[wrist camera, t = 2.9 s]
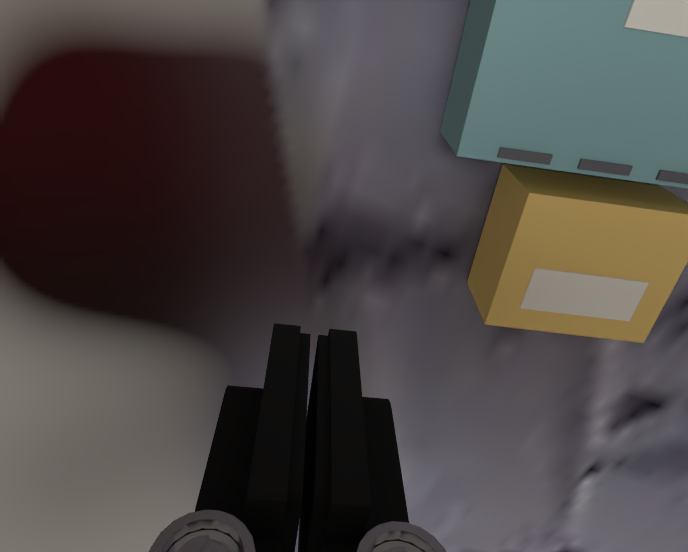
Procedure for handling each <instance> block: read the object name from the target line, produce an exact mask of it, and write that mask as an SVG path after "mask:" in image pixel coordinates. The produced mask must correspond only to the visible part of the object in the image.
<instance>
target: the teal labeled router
mask: <svg viewBox="0 0 688 552" xmlns="http://www.w3.org/2000/svg"><path fill="white" fill-rule="evenodd" d="M440 133H441V134H442V135H443V137H444V138H445V140H446V141H447V143H448V144H449V146H450V147H451V149H452V150H453V152H454V153H455V154H456V156H459V157H466V158H473V159H480V160H487V161H494V162H502V163H509V164H516V165H523V166H530V167H537V168H544V169H551V170H559V171H566V172H573V173H580V174H587V175H594V176H601V177H608V178H616V179H623V180H630V181H637V182H644V183H651V184H658V185H665V186H673V187H680V188H687V189H688V0H470V4H469V9H468V13H467V17H466V21H465V26H464V30H463V34H462V39H461V43H460V47H459V52H458V56H457V60H456V65H455V69H454V73H453V78H452V82H451V86H450V91H449V95H448V99H447V104H446V108H445V112H444V116H443V121H442V125H441V129H440Z"/></svg>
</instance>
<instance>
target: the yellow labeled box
mask: <svg viewBox="0 0 688 552" xmlns="http://www.w3.org/2000/svg"><path fill="white" fill-rule="evenodd" d="M687 262H688V203H687V202H685V201H683V200H682V199H680V198H679V197H677V196H675V195H674V194H672V193H670V192H669V191H667V190H666V189H664V188H662V187H661V186H657V185H649V184H642V183H635V182H628V181H621V180H614V179H607V178H599V177H592V176H585V175H578V174H571V173H564V172H557V171H550V170H542V169H535V168H528V167H521V166H514V165H507V164H502V168H501V171H500V174H499V178H498V181H497V184H496V188H495V191H494V194H493V198H492V201H491V204H490V207H489V211H488V214H487V217H486V221H485V224H484V227H483V231H482V234H481V237H480V241H479V244H478V247H477V250H476V254H475V257H474V260H473V264H472V267H471V270H470V274H469V277H468V280H467V284H468V286H469V288H470V291H471V293H472V295H473V298H474V300H475V303H476V305H477V307H478V310H479V312H480V314H481V317H482V319H483V321H484V324H485V325H493V326H502V327H511V328H519V329H528V330H536V331H545V332H553V333H562V334H570V335H579V336H587V337H596V338H605V339H613V340H622V341H630V342H639V343H644V342H645V340H646V338H647V336H648V334H649V332H650V331H651V329H652V327H653V325H654V323H655V321H656V320H657V318H658V316H659V314H660V312H661V310H662V308H663V307H664V305H665V303H666V301H667V299H668V297H669V295H670V294H671V292H672V290H673V288H674V286H675V284H676V283H677V281H678V279H679V277H680V275H681V273H682V271H683V270H684V268H685V266H686V264H687Z"/></svg>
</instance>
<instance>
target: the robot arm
mask: <svg viewBox="0 0 688 552" xmlns="http://www.w3.org/2000/svg"><path fill="white" fill-rule="evenodd" d="M300 328H301V326H295V325H284V324H274V327H273V333H272V339H271V345H270V352H269V358H268V365H267V370H266V377H265V383H264V389H261V388H250V387H239V386H227V388H226V391H225V394H224V398H223V402H222V406H221V410H220V414H219V418H218V422H217V426H216V430H215V434H214V437H213V441H212V445H211V449H210V453H209V457H208V461H207V465H206V469H205V473H204V477H203V481H202V485H201V489H200V493H199V497H198V501H197V504H196V509H195V512H192V513H188V514H186V515H184V516H182V517H180V518H178V519H176V520H174V521H173V522H172V523H171V524H170V525H168V526H167V527H166V528H165V529H164V530H163V531H162V532H161V533H160V535H159V536H158V537H157V539H156V540H155V542H154V543H153V545H152V546H151V548H150V550H149V552H295V545H296V538H297V532H298V525H299V541H298V552H446V550H445V548H444V547H443V546H442V545H441V544H440V543H439V542H438V540H437V539H436V538H435V537H434V536H433V535H431V534H430V533H428V532H427V531H425V530H424V529H422V528H421V527H418V526H415V525H413V524H410V523H409V520H408V513H407V507H406V500H405V493H404V487H403V480H402V474H401V467H400V461H399V454H398V448H397V441H396V435H395V428H394V422H393V415H392V409H391V404H390V401H389V400H388V399H380V398H368V397H362V390H361V378H360V366H359V355H358V343H357V333H356V331H346V330H336V329H330V330H329V333H328V336H324V335H319V336H318V341H317V348H316V355H315V362H314V369H313V376H312V383H311V391H310V398H309V405H308V412H307V394H308V374H309V354H310V334H304V333H300ZM306 415H307V419H306ZM299 519H300V522H299Z"/></svg>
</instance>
